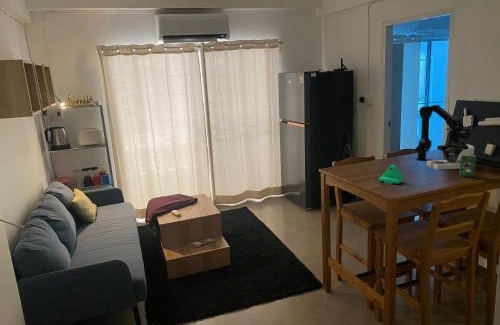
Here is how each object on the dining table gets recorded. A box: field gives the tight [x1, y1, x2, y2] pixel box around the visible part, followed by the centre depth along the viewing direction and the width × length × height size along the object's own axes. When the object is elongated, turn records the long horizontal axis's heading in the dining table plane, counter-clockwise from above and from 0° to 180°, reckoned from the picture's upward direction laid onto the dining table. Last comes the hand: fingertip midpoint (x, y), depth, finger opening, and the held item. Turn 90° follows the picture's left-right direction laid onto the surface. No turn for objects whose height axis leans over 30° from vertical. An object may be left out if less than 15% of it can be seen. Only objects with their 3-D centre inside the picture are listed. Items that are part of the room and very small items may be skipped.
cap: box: [447, 152, 458, 162], centre depth 254 cm, size 6×6×5 cm
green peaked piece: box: [378, 164, 404, 185], centre depth 223 cm, size 12×8×10 cm, turn 49°
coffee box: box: [458, 155, 477, 178], centre depth 229 cm, size 8×3×13 cm, turn 77°
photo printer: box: [457, 143, 475, 162], centre depth 267 cm, size 10×4×12 cm, turn 39°
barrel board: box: [426, 159, 461, 171], centre depth 255 cm, size 14×18×3 cm
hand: (451, 159), depth 255 cm, fingers closed on cap, 6 cm apart
